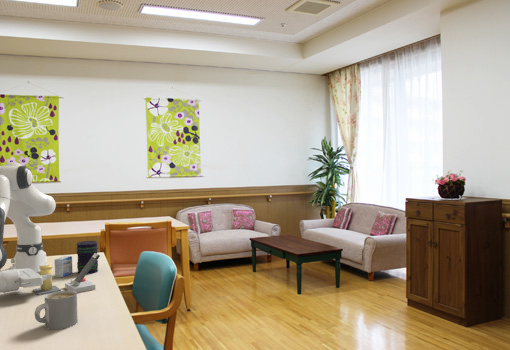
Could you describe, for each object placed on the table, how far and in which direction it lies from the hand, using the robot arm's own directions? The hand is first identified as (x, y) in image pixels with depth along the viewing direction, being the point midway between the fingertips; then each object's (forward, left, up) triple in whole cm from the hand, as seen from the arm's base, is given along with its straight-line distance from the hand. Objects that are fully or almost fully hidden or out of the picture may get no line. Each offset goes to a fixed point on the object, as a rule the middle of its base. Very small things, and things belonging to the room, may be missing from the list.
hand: (48, 274), depth 189 cm
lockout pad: (0, -1, -7) cm, 7 cm away
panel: (+6, +11, -7) cm, 14 cm away
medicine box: (-24, +13, -7) cm, 28 cm away
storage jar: (-22, +24, -7) cm, 33 cm away
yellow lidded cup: (0, -1, -6) cm, 6 cm away
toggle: (+7, +9, -4) cm, 12 cm away
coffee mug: (+46, -10, -7) cm, 48 cm away
